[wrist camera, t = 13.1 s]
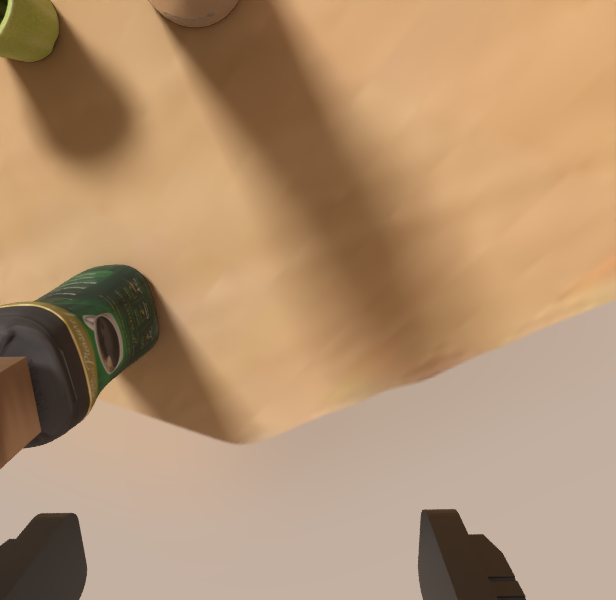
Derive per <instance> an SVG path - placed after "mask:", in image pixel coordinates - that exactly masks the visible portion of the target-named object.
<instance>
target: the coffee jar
mask: <svg viewBox="0 0 616 600" xmlns="http://www.w3.org/2000/svg"><path fill="white" fill-rule="evenodd" d="M158 334H159V328H158V320H157V313H156V309H155V305H154V301H153V297H152V294H151V291H150V289H149V286H148V284H147V281H146V280H145V278H144V277H143V275H142V274H141V273H140V272H139V271H137V270H136V269H134V268H132V267H130V266H126V265H106V266H99V267H95V268H91V269H88V270H86V271H84V272H82V273H80V274H78V275H76V276H74V277H73V278H71V279H69V280H68V281H66V282H65V283H63V284H62V285H60V286H59V287H57V288H55V289H54V290H52V291H51V292H49V293H47V294H46V295H44V296H42V297H41V298H39V299H37V300H35V301H33V302H17V303H11V304H6V305H1V306H0V357H27V362H28V367H29V372H30V377H31V382H32V387H33V392H34V397H35V402H36V407H37V412H38V417H39V422H40V427H41V432H40V433H39V434H38V435H37V436H36V437H35V438H34V439H32V440H31V441H30V442H29V443H28V444H27V445H26V446H25V447H24V448H30V447H36V446H40V445H44V444H47V443H49V442H51V441H53V440H55V439H57V438H58V437H60V436H62V435H64V434H65V433H66V432H68V431H69V430H70V429H71V428H73V427H74V426H76V425H77V424H78V423H80V422H81V421H82V420H84V418H85V417H86V416H87V415H88V414H89V412H90V411H91V409H92V407H93V405H94V403H95V401H96V399H97V397H98V395H99V394H100V392H101V391H102V389H103V388H104V387H105V386H106V385H107V384H108V383H109V382H110V381H111V380H112V379H114V378H115V377H116V376H117V375H118V374H120V373H121V372H122V371H123V370H124V369H126V368H127V367H128V366H130V365H131V364H132V363H134V362H135V361H137V360H138V359H139V358H141V357H142V356H143V355H144V354H146V353H147V352H148V351H149V350H150V349H151V348H152V347H153V346H154V345H155V343H156V341H157V339H158Z"/></svg>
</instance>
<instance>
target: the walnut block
mask: <svg viewBox="0 0 616 600" xmlns="http://www.w3.org/2000/svg"><path fill="white" fill-rule="evenodd" d="M40 432H41V427H40V422H39V417H38V412H37V407H36V402H35V397H34V392H33V387H32V382H31V377H30V372H29V367H28V362H27V357H0V469H1V468H2V467H3V466H4V465H5V464H6V463H7V462H8V461H10V460H11V459H12V458H13V457H14V456H15V455H16V454H17V453H18V452H19V451H20V450H22V448H24V447H25V446H26V445H27V444H28V443H29V442H30V441H31V440H32V439H34V438H35V437H36V436H37V435H38V434H39V433H40Z"/></svg>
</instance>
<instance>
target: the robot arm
mask: <svg viewBox="0 0 616 600" xmlns="http://www.w3.org/2000/svg"><path fill="white" fill-rule="evenodd" d="M148 1H149V2H150V3H151V4H152V5H153V6H154V8H155V9H156V10H158V11H159V12H160V13H161V14H162V15H163V16H164V17H166V18H167V19H169V20H171V21H172V22H174V23H176V24H179V25H182V26H185V27H195V28H198V27H205V26H209V25H212V24H214V23H217V22H219V21H220V20H221V19H223V18H224V17H226V16H227V15H228V14H229V13H230V12H231V11H232V9H233V8H234V7H235V6H236V4H237V2H238V0H148ZM420 523H421V524H420V539H419V540H420V541H419V556H418V572H419V582H420V588H421V593H422V597H423V600H526V599H525V595H524V593H523V591H522V589H521V587H520V585H519V583H518V582H517V581H516V580H515V576H514V574H513V572H512V570H511V568H510V566H509V564H508V563H507V561H506V559H505V557H504V555H503V553H502V552H501V551H500V550H499V549H498V548H497V547H495V545H493V543H492V542H490V541H489V540H488V539H487V538H486V537H485V536H484V535H483V534H479V535H478V534H477V535H468V533H467V531H466V528H465V526H464V524H463V522H462V520H461V518H460V515H459V513H458V512H457V511H456V510H455V509H442V510H441V509H440V510H439V509H438V510H422V513H421V522H420ZM86 576H87V564H86V558H85V553H84V547H83V542H82V536H81V531H80V526H79V521H78V517H77V516H76V514H74V513H42V514H38V515H37V516H35V517H34V518H33V519H32V520H31V522H30V523H29V524H28V525H27V526H26V528H25V529H24V530H23V531H22V532H21V534H20V535H19V536H18V537H17V538H16V539H9V540H7V541H6V542H5V543H3V544H2V545H1V546H0V600H79V598H80V597H81V594H82V592H83V589H84V585H85V581H86Z"/></svg>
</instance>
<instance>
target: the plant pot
mask: <svg viewBox="0 0 616 600" xmlns="http://www.w3.org/2000/svg"><path fill="white" fill-rule="evenodd" d="M58 35H59V22H58V17H57V13H56V11H55V9H54V6H53V5H52V3H51V1H50V0H0V57H4V58H9V59H14V60H19V61H24V62H35V61H38V60H41V59H43V58H45V57H46V56H48V55H49V54H50V53H51V52H52V49H53V46H54V44H55V41H56V39H57V37H58Z"/></svg>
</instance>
